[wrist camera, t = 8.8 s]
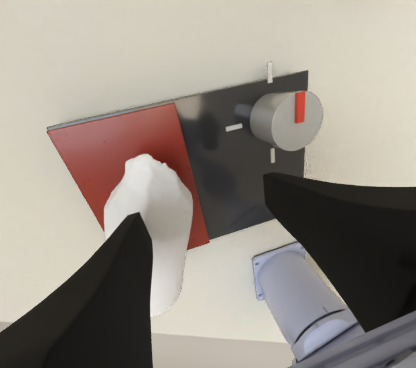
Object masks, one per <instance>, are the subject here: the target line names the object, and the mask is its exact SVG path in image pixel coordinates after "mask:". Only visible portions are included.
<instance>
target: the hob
mask: <svg viewBox="0 0 416 368" xmlns="http://www.w3.org/2000/svg"><path fill="white" fill-rule="evenodd" d="M307 89H308V70H306V71H301V72H295V73H290V74H286V75H281V76H276V77H272V62H267V79H263V80H258V81H254V82H249V83H244V84H240V85H235V86H231V87H226V88H222V89H217V90H212V91H208V92H203V93H199V94H194V95H189V96H185V97H180V98H176V99H171V100H167V101H162V102H157V103H153V104H148V105H144V106H139V107H135V108H130V109H125V110H121V111H116V112H112V113H107V114H102V115H98V116H93V117H89V118H84V119H80V120H75V121H70V122H66V123H61V124H57V125H54V126H50V127H47V130H48V131H49V130H52V129H57V128H61V127H66V126H70V125H75V124H79V123H84V122H89V121H93V120H98V119H102V118H107V117H111V116H116V115H120V114H125V113H129V112H134V111H138V110H143V109H147V108H152V107H156V106H161V105H165V104H170V103H175V105H176V109H177V113H178V117H179V121H180V125H181V129H182V133H183V137H184V141H185V145H186V149H187V153H188V157H189V161H190V165H191V169H192V173H193V177H194V181H195V185H196V189H197V193H198V197H199V201H200V205H201V209H202V213H203V217H204V221H205V225H206V229H207V233H208V237H209V240H211V239H214V238H217V237H220V236H223V235H226V234H229V233H233V232H236V231H239V230H242V229H245V228H248V227H251V226H254V225H257V224H260V223H263V222H266V221H269V220H273V219H276V218H275V217H274V216H273V214H272V213H271V212H270V210H269V209H268V208H267V206H266V205H265V197H264V183H263V175H264V174H267V173H271V172H278V173H283V174H288V175H293V176H298V177H302V178H303V176H304V154H305V147H303V148H301V149H299V150H296V151H286V150H283V149H280V148H278V147H276V146H273V145H271V144H268V143H266V142H264V141H261V140H259V139H258V138H256V137H255V136H254V134H253V133H252V130H251V127H250V115H251V111H252V109H253V107H254V105H255V103H256V102H257V101H258V100H259V99H260V98H261V97H262V96H264V95H265V94H268V93H271V92H285V91H307Z"/></svg>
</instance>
